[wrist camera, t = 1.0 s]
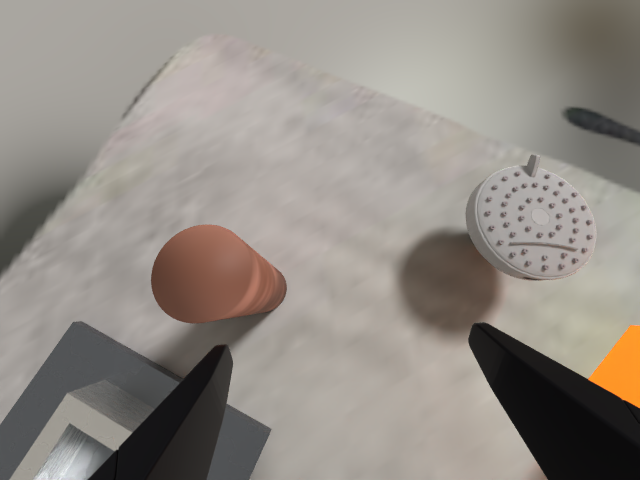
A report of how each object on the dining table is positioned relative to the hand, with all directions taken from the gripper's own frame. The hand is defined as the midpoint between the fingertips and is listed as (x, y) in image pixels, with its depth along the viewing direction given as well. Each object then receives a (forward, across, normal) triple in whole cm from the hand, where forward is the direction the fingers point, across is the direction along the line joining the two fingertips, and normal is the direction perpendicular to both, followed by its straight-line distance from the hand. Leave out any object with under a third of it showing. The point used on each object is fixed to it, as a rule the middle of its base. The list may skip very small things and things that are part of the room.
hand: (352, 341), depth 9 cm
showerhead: (+16, -16, +4) cm, 23 cm away
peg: (+13, +6, +7) cm, 16 cm away
